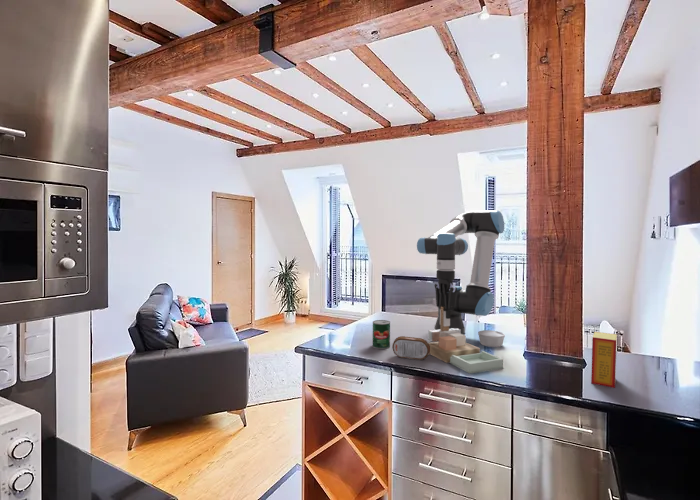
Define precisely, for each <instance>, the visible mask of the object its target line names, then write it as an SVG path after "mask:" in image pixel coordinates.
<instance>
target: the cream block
mask: <svg viewBox="0 0 700 500" xmlns="http://www.w3.org/2000/svg"><path fill="white" fill-rule="evenodd" d="M448 336H450V337H452V338H455V339H457V343H456V346H462V345H466V343H467V340H466V335H465V334H460V333H450V334H448Z"/></svg>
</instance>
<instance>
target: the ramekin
mask: <svg viewBox="0 0 700 500" xmlns="http://www.w3.org/2000/svg"><path fill="white" fill-rule="evenodd" d="M477 334H478V339H479V343H480V344H481V345H482V346H484V347H488V348H500V347H503V344H504V340H505V337H506V334H505V333H503V332H501V331H497V330H489V329H484V330H479V331H478V333H477Z"/></svg>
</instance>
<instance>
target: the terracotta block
mask: <svg viewBox="0 0 700 500" xmlns="http://www.w3.org/2000/svg"><path fill="white" fill-rule="evenodd" d="M438 342H439V347H440V348H442V349H444V350H453V349H456V343H457V339H455V338H452V337H450V336H446V337H439V341H438Z"/></svg>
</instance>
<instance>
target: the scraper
mask: <svg viewBox="0 0 700 500" xmlns="http://www.w3.org/2000/svg"><path fill="white" fill-rule="evenodd" d="M444 310H445V306H441V318H440V330H434V329H433V330H432V329H429V330H428V341H430V342H431V343H432V342H439V337H446V336H448V334H450V333H460V334H461V329H458V328H451V329H449V326H443V322H444Z"/></svg>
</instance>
